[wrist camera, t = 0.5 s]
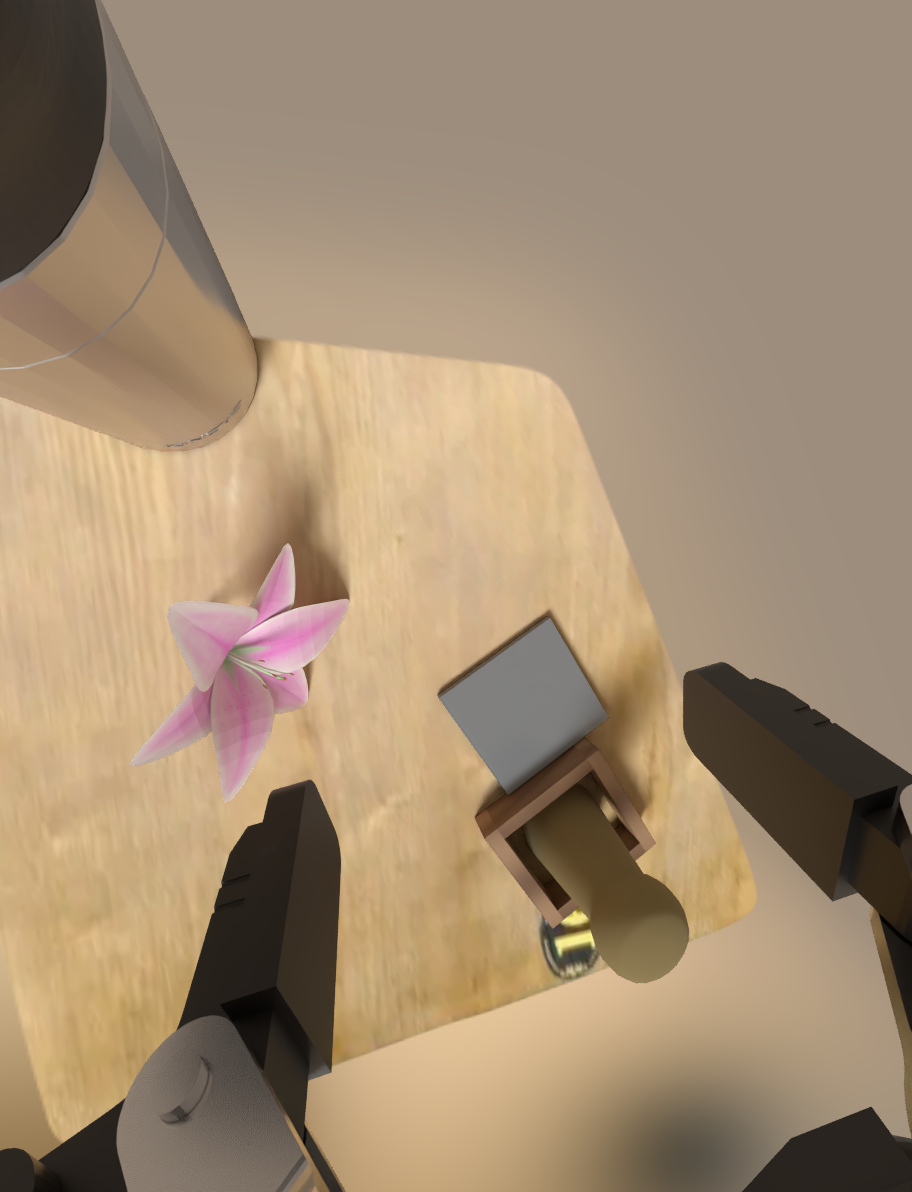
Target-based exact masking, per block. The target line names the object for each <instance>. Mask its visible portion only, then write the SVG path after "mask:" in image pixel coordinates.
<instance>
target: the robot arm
mask: <svg viewBox="0 0 912 1192" xmlns="http://www.w3.org/2000/svg"><path fill="white" fill-rule="evenodd" d="M256 382H257V356H256V352H255V347H254V343H253V339H252V336H251V334H250V332H249V330H248V327H247V325H246V323H245V320H244V318H243V316H242V313H241V311H240V309H239V307H238V304H237V302H236V299H235V296H234V294H233V292H232V290H231V287H230V285H229V283H228V281H227V278H226V277H225V274H224V272H223V270H222V267H221V265H220V263H219V261H218V258H217V256H216V254H215V252H214V249H213V247H212V245H211V243H210V240H209V238H208V236H207V234H206V232H205V229H204V227H203V225H202V223H201V221H200V218H199V216H198V214H197V211H196V209H195V207H194V205H193V202H192V200H191V198H190V196H189V194H188V191H187V189H186V187H185V184H184V182H183V180H182V178H181V175H180V173H179V171H178V169H177V167H176V164H175V162H174V160H173V158H172V156H171V153H170V151H169V149H168V147H167V144H166V142H165V140H164V137H163V136H162V133H161V131H160V128H159V126H158V124H157V122H156V120H155V117H154V115H153V113H152V111H151V108H150V106H149V104H148V102H147V99H146V98H145V96H144V94H143V92H142V90H141V88H140V86H139V83H138V81H137V79H136V77H135V74H134V72H133V70H132V68H131V66H130V64H129V61H128V59H127V57H126V54H125V52H124V50H123V48H122V45H121V43H120V41H119V39H118V36H117V34H116V32H115V30H114V27H113V25H112V23H111V21H110V19H109V17H108V14H107V12H106V10H105V8H104V6H103V3H102V1H101V0H0V397H3V398H5V399H8V400H11V401H14V402H16V403H19V404H22V405H25V406H28V407H30V408H33V409H36V410H39V411H41V412H44V413H47V414H50V415H52V416H55V417H58V418H61V419H64V420H66V421H69V422H72V423H75V424H77V425H80V426H83V427H86V428H89V429H91V430H94V431H97V432H100V433H103V434H106V435H108V436H111V437H114V438H117V439H120V440H122V441H125V442H128V443H131V444H133V445H136V446H139V447H142V448H148V449H153V450H159V451H186V450H190V449H195V448H200V447H203V446H205V445H208V444H210V443H212V442H214V441H216V440H219V439H220V438H222V437H223V436H224V435H226V434H227V433H228V432H229V431H231V430H232V429H233V428H234V427H235V426H236V425H237V424H238V422H239V421H240V420H241V419H242V417H243V416H244V415H245V414H246V412H247V410H248V408H249V405H250V403H251V401H252V399H253V397H254V392H255V387H256ZM683 730H684V734H685V738H686V741H687V743H688V745H689V747H690V749H691V750H692V752H693V753H694V755H695V756H696V757H697V758H698V759H699V760H700V761H701V763H702V764H703V765H704V766H705V767H706V768H707V769H708V770H709V771H710V772H711V773H712V774H713V775H714V776H715V777H716V778H717V779H718V781H719V782H720V783H721V784H722V785H723V786H724V787H725V788H726V789H727V790H728V791H729V792H730V793H731V794H732V795H733V796H734V797H735V798H736V800H737V801H738V802H739V803H740V804H741V805H742V806H743V807H744V808H745V809H746V810H747V811H748V812H749V813H750V814H751V815H752V817H753V818H754V819H755V820H756V821H757V822H758V823H759V824H760V825H761V826H762V827H763V828H764V829H765V830H766V831H767V832H768V833H769V835H770V836H771V837H772V838H773V839H774V840H775V841H776V842H777V843H778V844H779V845H780V846H781V847H782V848H783V849H784V850H785V851H786V853H787V854H788V855H789V856H790V857H792V859H793V860H794V861H795V862H796V863H797V864H798V865H799V866H800V867H801V868H802V870H803V871H804V872H805V873H806V874H807V875H808V876H809V877H810V878H811V879H812V880H813V881H814V882H815V883H816V884H817V885H818V886H819V887H820V889H821V890H822V891H823V892H824V893H826V895H827V896H828V897H829V898H830V899H831V900H832V901H835V900H838V899H841V898H843V897H847V896H849V895H852V894H855V893H859V894H860V895H861V896H862V897H863V898H864V899H865V900H866V901H867V902H868V903H869V904H870V905H871V907H870V914H869V915H870V922H871V926H872V930H873V934H874V937H875V941H876V945H877V949H878V953H879V957H880V961H881V965H882V969H883V973H884V976H885V981H886V985H887V989H888V993H889V997H890V1000H891V1004H892V1008H893V1012H894V1016H895V1020H896V1024H897V1028H898V1032H899V1036H900V1040H901V1044H902V1050H903V1056H904V1066H905V1067H904V1069H905V1073H904V1074H905V1075H904V1091H905V1102H906V1111H907V1117H908V1123H909V1128H910V1133H911V1137H912V775H911V774H910V773H908V772H907V771H905V770H904V769H902V768H901V767H899V766H898V765H896V764H895V763H893V762H892V761H891V760H889V759H887V758H886V757H885V756H883V755H881V754H880V753H879V752H877V751H876V750H874V749H873V748H871V747H870V746H868V745H867V744H865V743H864V742H862V741H861V740H860V739H858V738H856V737H855V736H854V735H852V734H851V733H849V732H848V731H846V730H845V729H843V728H842V727H840V726H838V725H837V724H836V723H833V724H832V723H831V722H830V719H828V718H827V717H825V716H824V715H823V714H821V713H820V712H818V711H817V710H815V709H810V707H809V705H808V704H806V703H805V702H803V701H802V700H800V699H799V698H797V697H796V696H794V695H793V694H791V693H790V692H788V691H787V690H786V689H783V688H781V687H778V686H775V685H772V684H770V683H767V682H765V681H762V680H759V679H757V678H755V679H751V680H750V679H749V678H747V677H746V676H744V675H743V674H742V673H740V672H739V671H737V670H736V669H735V668H733V667H732V666H730V665H729V664H727V663H724V662H719V663H716V664H712V665H709V666H705V667H702V668H698V669H695V670H692V671H688V672H687V673H686V674H685V676H684V680H683ZM340 874H341V855H340V847H339V842H338V838H337V834H336V831H335V829H334V826H333V824H332V822H331V820H330V817H329V815H328V813H327V810H326V808H325V806H324V804H323V801H322V799H321V797H320V794H319V792H318V790H317V788H316V785H315V784H314V782H313V781H312V780H307V781H303V782H300V783H297V784H293V785H290V786H286V787H283V788H279V789H276V790H273V791H272V792H271V793H270V795H269V798H268V802H267V806H266V811H265V815H264V819H263V822H262V823H258V824H255V825H252V826H248V827H247V829H246V830H245V832H244V833H243V835H242V836H241V838H240V839H239V841H238V842H237V844H236V845H235V847H234V848H233V850H232V851H231V853H230V855H229V858H228V861H227V865H226V868H225V872H224V875H223V878H222V882H221V883H222V888H220V889H219V892H218V895H217V899H216V902H215V906H214V909H215V912H214V913H213V914H212V916H211V919H210V923H209V926H208V929H207V933H206V936H205V940H204V943H203V946H202V950H201V953H200V957H199V960H198V963H197V967H196V970H195V974H194V977H193V980H192V984H191V987H190V991H189V994H188V997H187V1001H186V1004H185V1008H184V1011H183V1014H182V1017H181V1020H180V1023H179V1026H178V1028H177V1030H176V1031H175V1032H174V1033H173V1034H172V1035H170V1036H169V1037H168V1038H167V1039H166V1040H165V1041H164V1042H163V1043H162V1044H161V1045H160V1046H159V1047H158V1048H157V1049H156V1050H155V1051H154V1053H153V1054H152V1055H151V1056H150V1058H149V1059H148V1060H147V1062H146V1063H145V1064H144V1066H143V1067H142V1069H141V1070H140V1072H139V1073H138V1075H137V1077H136V1078H135V1080H134V1082H133V1084H132V1086H131V1088H130V1090H129V1092H128V1094H127V1097H126V1098H125V1099H124V1100H122V1101H121V1102H120V1103H119V1104H117V1105H116V1106H115V1107H113V1108H112V1109H111V1110H109V1111H108V1112H107V1113H105V1114H104V1115H102V1116H101V1117H100V1118H98V1119H97V1120H95V1121H94V1122H92V1123H91V1124H90V1125H88V1126H87V1127H85V1128H84V1129H82V1130H81V1131H80V1132H78V1133H77V1134H75V1135H74V1136H73V1137H71V1138H70V1139H68V1140H67V1141H65V1142H64V1143H63V1144H61V1145H60V1146H58V1147H57V1148H56V1149H54V1150H53V1151H51V1152H50V1153H48V1154H47V1155H46V1156H44V1157H43V1158H41V1159H40V1160H37V1159H35V1158H34V1157H32V1156H31V1155H30V1154H28V1153H27V1152H25V1151H24V1150H21V1149H18V1148H11V1149H4V1150H1V1151H0V1192H346V1191H345V1189H344V1187H343V1186H342V1184H341V1182H340V1180H339V1179H338V1177H337V1175H336V1173H335V1172H334V1170H333V1168H332V1166H331V1165H330V1163H329V1161H328V1159H327V1158H326V1156H325V1154H324V1152H323V1151H322V1149H321V1147H320V1145H319V1144H318V1142H317V1140H316V1138H315V1137H314V1135H313V1133H312V1131H311V1130H310V1128H309V1126H308V1124H307V1122H306V1121H305V1112H306V1099H307V1086H308V1080H311V1079H314V1078H317V1077H320V1076H323V1075H325V1074H328V1073H331V1069H332V1047H333V1025H334V1004H335V982H336V961H337V939H338V917H339V896H340ZM742 1192H912V1139H911V1138H906V1137H900V1136H895V1135H892V1134H891V1133H890V1132H889V1130H888V1129H887V1128H886V1126H885V1125H884V1123H883V1122H882V1121H881V1119H880V1118H879V1117H878V1115H877V1114H876V1113H875V1111H874V1110H873V1108H872V1107H869V1108H867V1109H864V1110H862V1111H859V1112H857V1113H854V1114H852V1115H849V1116H846V1117H844V1118H842V1119H839V1120H836V1121H834V1122H832V1123H829V1124H826V1125H824V1126H821V1127H819V1128H816V1129H814V1130H811V1131H809V1132H806V1133H804V1134H801V1135H798V1136H796V1137H793V1138H791V1139H790V1140H789V1141H788V1142H787V1143H786V1144H785V1145H784V1147H783V1148H782V1149H781V1150H780V1151H779V1152H778V1153H777V1154H776V1155H775V1156H774V1158H773V1159H772V1160H771V1161H770V1162H769V1163H768V1164H767V1165H766V1166H765V1167H764V1169H763V1170H762V1171H761V1172H760V1173H759V1174H758V1175H757V1176H756V1177H755V1178H754V1179H753V1181H752V1182H751V1183H750V1184H749V1185H748V1186H747V1187H746V1188H745V1189H744V1190H743V1191H742Z"/></svg>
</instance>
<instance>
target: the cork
mask: <svg viewBox="0 0 912 1192" xmlns="http://www.w3.org/2000/svg"><path fill="white" fill-rule="evenodd" d="M523 837H524V840H525V842H526V845H527V846H528V847H529V849H530V850H531V851H532V852H533V853H534V855H535V856H536V857H537V858H538V859H539V860H540V862H541V863H542V864H543V865H544V866H545V868H546V869H547V870H548V871H549V872H550V874H551V875H552V876H553V877H554V878H555V880H556V881H557V882H558V883H559V884H560V885H561V887H562V888H563V889H564V890H565V891H566V893H567V894H568V895H569V896H570V897H571V899H572V900H573V901H574V902H575V903H576V904H577V906H578V907H579V908H580V909H581V910H582V912H583V913H584V914H585V915H586V916H587V918H588V919H589V920H590V930H591V933H592V936H593V939H594V942H595V945H596V948H597V950H598V952H599V954H600V955H601V957H602V959H603V960H604V961H605V962H606V963H607V964H608V965H609V966H610V967H611V968H612V969H613V970H614V971H615V972H616V974H618V975H619V976H621V977H623V978H625V979H627V980H630V981H632V982H635V983H647V982H650V981H654V980H657V979H659V978H661V977H663V976H664V975H666V974H667V973H669V972H670V971H671V970H672V969H673V968H674V967H675V966H676V965H677V964H678V962H679V960H680V959H681V957H682V956H683V954H684V952H685V949H686V947H687V944H688V940H689V928H688V923H687V919H686V916H685V912H684V910H683V908H682V906H681V904H680V902H679V901H678V900H677V898H676V897H675V896H674V895H673V893H672V892H671V891H670V890H669V889H668V888H667V887H666V886H665V885H664V884H663V883H661V882H660V881H658V880H657V879H655V878H653V877H651V876H649V875H647V874H643V872H642V871H641V869H640V868H639V866H638V865H637V863H636V862H635V860H634V859H633V857H632V856H631V854H630V853H629V851H628V850H627V848H626V847H625V845H624V843H623V842H622V840H621V839H620V837H619V836H618V834H617V833H616V831H615V830H614V828H613V827H612V825H611V824H610V822H609V821H608V819H607V818H606V816H605V815H604V813H603V812H602V810H601V809H600V807H599V806H598V804H597V803H596V801H595V799H594V798H593V797H592V795H591V794H590V793H589V792H588V791H587V790H586V789H584V788H583V787H581V786H579V785H575V784H574V785H573V786H572V787H570V788H569V789H568V790H567V791H565V792H564V793H563V794H562V795H560V796H559V797H558V798H556V799H555V800H554V801H553V802H551V803H550V804H549V805H547V806H546V807H545V808H544V809H542V810H541V811H540V812H539V813H537V814H536V815H535V816H533V817H532V818H531V819H530V820H528V821H527V822H526V823H524V824H523Z"/></svg>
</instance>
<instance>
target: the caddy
mask: <svg viewBox="0 0 912 1192" xmlns="http://www.w3.org/2000/svg"><path fill="white" fill-rule="evenodd" d="M588 773H590V774H591V775H592V777H593V778H594V780H595V782H596V783H597V785H598V786H599V788H600V790H601V791H602V793H603V794H604V796H605V797H606V799H607V801H608V802H609V804H610V805H611V807H612V809H613V810H614V812H615V813H616V815H617V817H618V818H619V820H620V821H621V823H622V825H620V826H619V827H618V828H617V829H615V831H616V833H617V834H618V836H619V837H620V839H621V840H622V842H623V843H624V845H625V847H626V848H627V850H628V851H629V853H630V854H631V856H632V857H633V859H634V860H635V861H636V860H637V859H638V858H639V857H640V856H642V855H643V854H644V853H645V852H646V851H648V850H649V849H650V848H651V847H653V846H654V845H655V844H656V842H655V841H654V839H653V837H652V836H651V834H650V832H649V831H648V829H647V828H646V826H645V824H644V823H643V821H642V819H641V818H640V816H639V814H638V813H637V811H636V810H635V808H634V806H633V805H632V803H631V801H630V800H629V798H628V796H627V795H626V793H625V792H624V790H623V788H622V787H621V785H620V783H619V782H618V780H617V778H616V777H615V775H614V773H613V772H612V770H611V769H610V767H609V765H608V764H607V762H606V760H605V759H604V757H603V755H602V754H601V752H600V751H599V749H598V748H597V747H595V746H594V745H593V744H592V743H591V742H590V741H589V740H587V739H586V738H585V737H583V738H582V739H581V740H579V741H578V742H577V743H575V744H574V745H573V746H571V747H570V748H569V749H568V750H566V751H565V752H564V753H562V754H561V755H560V756H558V757H557V758H556V759H555V760H553V761H552V762H551V763H549V764H548V765H547V766H546V767H544V768H543V769H542V770H540V771H539V772H538V773H536V774H535V775H534V776H533V777H531V778H530V779H529V780H527V781H526V782H525V783H523V784H522V785H521V786H520V787H518V788H517V789H516V790H514V791H513V792H512V793H510V794H509V795H507V794H505V795H504V796H503V797H501V798H500V799H499V800H497V801H496V802H495V803H494V804H492V805H491V806H490V807H488V808H487V809H486V810H484V811H483V812H482V813H481V814H479V815H478V816H477V817H475V820H476V822H477V824H478V826H479V828H480V830H481V832H482V834H483V837H484V839H485V840H486V841H487V843H488V844H489V845H490V847H491V848H492V849H493V851H494V852H495V853H496V855H497V856H498V857H499V858H500V860H501V861H502V862H503V864H504V865H505V866H506V868H507V869H508V870H509V872H510V873H511V874H512V876H513V877H514V878H515V880H516V881H517V882H518V883H519V885H520V886H521V887H522V889H523V890H524V891H525V893H526V894H527V895H528V897H529V898H530V899H531V901H532V902H533V903H534V905H535V906H536V907H537V909H538V910H539V911H540V912H541V914H542V915H543V916H544V918H545V919H546V920H547V922H548V923H549V924H550V926H551V927H552V928H554V927H555V926H557V925H558V924H559V923H560V922H561V921H563V920H564V919H565V918H566V917H568V916H569V915H570V914H571V913H572V912H574V911H575V910H576V909H577V908H578V906H577V904H576V903H575V902H574V901H573V900H572V899H571V897H570V896H569V895H568V894H567V893H566V891H565V890H564V889H563V888H562V887H561V885H560V884H559V883H558V882H557V881H556V880H555V879H553V880H552V881H551V882H550V883H549V884H547V885H546V886H545V887H543V885H542V884H541V882H540V881H539V880H538V878H537V877H536V876H535V874H534V873H533V872H532V870H531V869H530V868H529V866H528V865H527V864H526V862H525V861H524V859H523V858H522V857H521V855H520V854H519V853H518V851H517V850H516V849H515V847H514V846H513V845H512V843H511V842H510V840H509V839H508V838H507V837H508V836H509V835H510V834H512V833H513V832H514V831H516V830H517V829H518V828H519V827H521V826H522V825H523V824H524V823H526V822H527V821H528V820H530V819H531V818H532V817H533V816H535V815H536V814H537V813H539V812H540V811H541V810H542V809H544V808H545V807H546V806H547V805H549V804H550V803H551V802H553V801H554V800H555V799H556V798H558V797H559V796H560V795H562V794H563V793H564V792H565V791H567V790H568V789H569V788H570V787H572V786H573V785H574V784H576V783H577V782H578V781H579V780H581V779H582V778H583V777H585V776H586V775H587V774H588Z"/></svg>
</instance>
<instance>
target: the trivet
mask: <svg viewBox="0 0 912 1192" xmlns="http://www.w3.org/2000/svg"><path fill="white" fill-rule="evenodd" d="M437 696H438V697H439V699H440V700H441V702H442V703H443V705H444V706H445V707H446V709H447V710H448V712H449V713H450V714H451V716H452V717H453V719H454V720H455V721H456V723H457V724H458V726H459V727H460V728H461V730H462V731H463V733H464V734H465V735H466V737H467V738H468V740H469V741H470V742H471V744H472V745H473V747H474V748H475V750H476V751H477V752H478V754H479V755H480V757H481V758H482V759H483V761H484V762H485V764H486V765H487V766H488V768H489V769H490V771H491V772H492V773H493V775H494V776H495V778H496V779H497V780H498V782H499V783H500V785H501V786H502V787H503V789H504V790H505V792H506V793H507V795H509V794H510V793H512V792H513V791H514V790H516V789H517V788H518V787H520V786H521V785H522V784H523V783H525V782H526V781H527V780H529V779H530V778H531V777H533V776H534V775H535V774H536V773H538V772H539V771H540V770H542V769H543V768H544V767H546V766H547V765H548V764H549V763H551V762H552V761H553V760H555V759H556V758H557V757H558V756H560V755H561V754H562V753H564V752H565V751H566V750H568V749H569V748H570V747H571V746H573V745H574V744H575V743H577V742H578V741H579V740H581V739H582V738H583V737H584V736H586V735H587V734H588V733H590V732H591V731H592V730H594V729H595V728H596V727H597V726H599V725H600V724H601V723H603V722H604V721H605V720H607V719H608V718H609V717H608V716H607V714H606V712H605V710H604V709H603V707H602V705H601V704H600V702H599V700H598V699H597V697H596V695H595V693H594V692H593V690H592V688H591V687H590V685H589V683H588V681H587V680H586V678H585V676H584V675H583V673H582V671H581V670H580V668H579V666H578V664H577V663H576V661H575V659H574V658H573V656H572V654H571V653H570V651H569V649H568V647H567V646H566V644H565V642H564V641H563V639H562V637H561V635H560V634H559V632H558V630H557V629H556V627H555V625H554V624H553V622H552V620H551V618H549V617H545V618H544V619H543V620H541V621H540V622H539V623H537V624H536V625H534V626H533V627H532V628H530V629H529V630H527V631H526V632H525V633H523V634H522V635H521V636H519V637H518V638H516V639H515V640H514V641H512V642H511V643H509V644H508V645H507V646H505V647H504V648H503V649H501V650H500V651H498V652H497V653H496V654H494V655H493V656H491V657H490V658H489V659H487V660H486V661H485V662H483V663H482V664H480V665H479V666H478V667H476V668H475V669H473V670H472V671H471V672H469V673H468V674H467V675H465V676H464V677H462V678H461V679H460V680H458V681H457V682H455V683H454V684H453V685H451V686H450V687H449V688H447V689H446V690H444V691H443V692H442V693H440V694H439V695H437Z"/></svg>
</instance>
